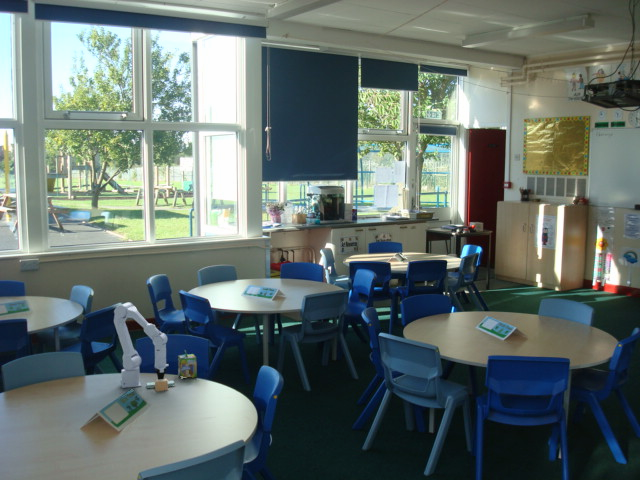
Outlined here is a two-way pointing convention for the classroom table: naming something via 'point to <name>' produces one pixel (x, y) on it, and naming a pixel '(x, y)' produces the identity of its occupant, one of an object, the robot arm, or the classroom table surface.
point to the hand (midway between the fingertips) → (160, 382)
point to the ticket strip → (152, 385)
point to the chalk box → (187, 365)
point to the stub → (161, 384)
